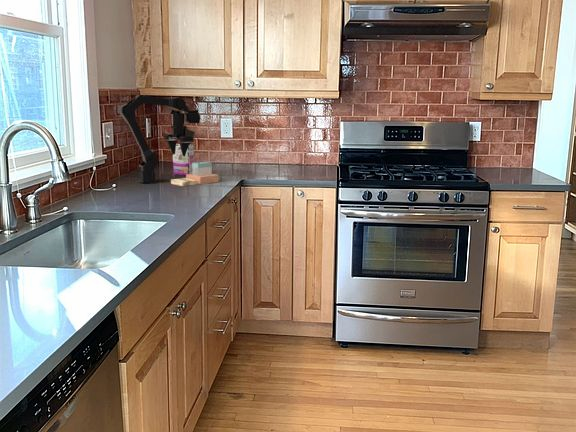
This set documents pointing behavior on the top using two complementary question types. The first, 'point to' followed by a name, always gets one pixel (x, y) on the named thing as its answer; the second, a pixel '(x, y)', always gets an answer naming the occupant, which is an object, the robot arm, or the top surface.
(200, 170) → the housing base
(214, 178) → the terracotta riser
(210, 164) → the housing cover
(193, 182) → the birch board
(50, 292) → the top surface
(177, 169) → the candy bar box
